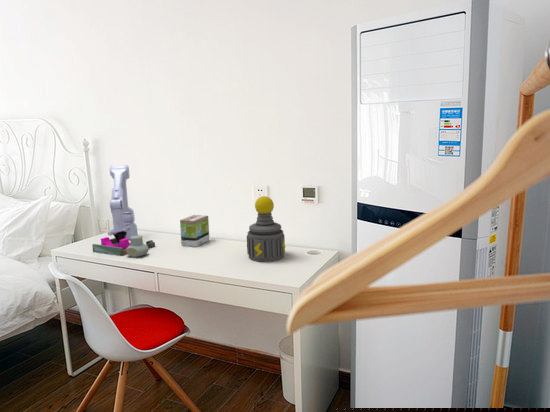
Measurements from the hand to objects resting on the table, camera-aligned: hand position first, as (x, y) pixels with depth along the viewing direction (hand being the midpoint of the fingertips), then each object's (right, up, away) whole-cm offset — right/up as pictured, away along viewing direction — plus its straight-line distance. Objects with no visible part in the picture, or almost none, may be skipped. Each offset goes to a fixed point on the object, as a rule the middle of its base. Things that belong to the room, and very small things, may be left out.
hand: (121, 245), depth 233 cm
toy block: (0, -3, -4) cm, 5 cm away
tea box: (+39, 0, +7) cm, 40 cm away
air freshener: (+13, -4, -13) cm, 19 cm away
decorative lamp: (+79, -4, -22) cm, 83 cm away
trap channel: (+1, -2, +2) cm, 3 cm away
